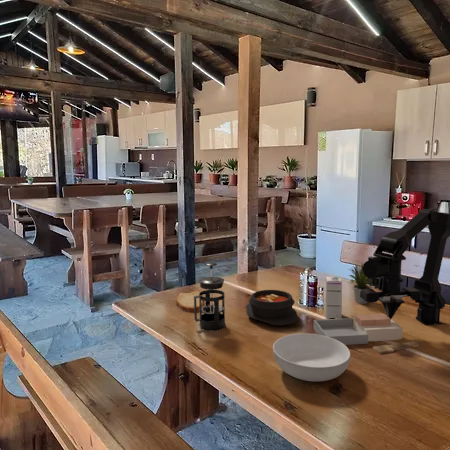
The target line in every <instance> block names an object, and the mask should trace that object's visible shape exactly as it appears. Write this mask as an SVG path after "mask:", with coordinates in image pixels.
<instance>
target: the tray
mask: <svg viewBox="0 0 450 450" xmlns="http://www.w3.org/2000/svg"><path fill="white" fill-rule="evenodd" d="M313 329H314V331H315V332H316V333H317V335H323V336H327V337H330V338H333V339H335V340H337V341H339V342H341V343H343V344H344V345H345V346H347V345H363V344H365V345H366V344H367V345H368V344H369V341H368V334H359V333H358V332H357V331H356V330H355V329H354V328H353V317H349V318H348V317H346V318H341V319H330V318H326V319H313Z"/></svg>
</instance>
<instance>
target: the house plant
mask: <svg viewBox="0 0 450 450" xmlns="http://www.w3.org/2000/svg"><path fill="white" fill-rule="evenodd" d="M363 266H364V263H361V265H360V270H359V269H358V268H357V267H356V266H353V265H352V268H351V269H350V268H348V270H349V271H351V273H352V274H349V275H348V277H351V278H352V279H351V280H350V284H352V283H355V284H354V285H353V286H352V288H353V289H352V290H353V297H354V302H355V303H357V304H361V305H362V304H363V305H365V304H368V303H369V302H366V301H365V300H363V299H362V298H361V297H360V292H361V290H362V289H372V286H370V285H369V278H367V277H366V276H365V274H364V272H363Z"/></svg>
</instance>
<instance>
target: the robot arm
mask: <svg viewBox="0 0 450 450" xmlns="http://www.w3.org/2000/svg"><path fill="white" fill-rule="evenodd" d="M425 228H427V229H428V232H429V235H430V238H429V239H430V240H429V245H428V250H427V254H426V258H425V263H424V268H423V272H422V275H421V277H420V278H419V279H415V281H414V285H413V286H412V287H411V286H410V287H409V286H407V287H405V286H404V287H402V288H401V283H403V281H404V279H403V278H402V261H405V260H406V259H407V257H406V256H405V255H404V254H405V252H406V251H407V250H408V248H410V242H411V241H412V240H413V239H414V238H415V237H416V236H418V235H419V234H420V233H421V232H422V231H423V230H424V229H425ZM449 237H450V212H442V211H436V210H434V209H429V208H427V209H426V208H423V209H420V210H419V211H418V213H417V214H416V215H415V216H413V217H412V218H411V219H410V220H408V222H407V223H405V224H404V225H403V226H402V227H401V228H399V229H398V230H395V231H392V232H389V233H387V234H386V235H383V236H382V238H380V241H379V243H378V246H377V247H376V248H375V251H374V252H373V254H372V255H373V256H368V258H367V261H365V262H364V263H363V264H364V266H363V272H364V274H365V277H367V278H369V280H368V281H369V284H368V286H370V287H374V289H376V290H378V291H375V290H374V289H373V288H371V289H362V290H361V292H360V297H361V298H362V299H363V300H365V301H366V302H368V303H378V301H379V302H380V303H382V306H383V309H384V311H385V313H386V314H385V315H387V316H388V317H389V318H390V319H392V320H393V317H394V315H396V312H397V311H398V309H399V308H400V307H401V306H402V304H405V301H404V300H403V297H409V298H410V299H411V300H412V301H414V302H415V303H417V304H418V307H417V310H416V316H415V319H416V320H418V321H419V322H421V324H423V325H426V326H427V325H429V326H431V325H442V324H443V322H442V321H441V320H440V317H441V310H443V309H444V308H445V306H446V302H447V301H446V300H445V298H444V297H443V296H442V294H441V293H442V287H441V283H440V282H439V276H440V271H441V267H442V263H443V258H444V254H445V253H444V252H445V248H446V243H447V240H448V238H449Z"/></svg>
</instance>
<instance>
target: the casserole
mask: <svg viewBox="0 0 450 450" xmlns="http://www.w3.org/2000/svg"><path fill="white" fill-rule="evenodd" d="M294 305H295V300H294V299H293V296H292V294H291V293H289V292H287V291H285V290H277V289H262V290H258V291H255V292H253V293H252V294H251V296H250V298H249V300H248V303H247V304H246V305H245V308H246V314H247V316H249V317H250V318H252V319H253V320H256V321H260V322H264V323H267V324H269V325H271V326H286V325H292V324H294V323H298V322H300V321H301V319H300V317H299V315H298V314H297V311H296V309H295V308H293V306H294Z"/></svg>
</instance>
